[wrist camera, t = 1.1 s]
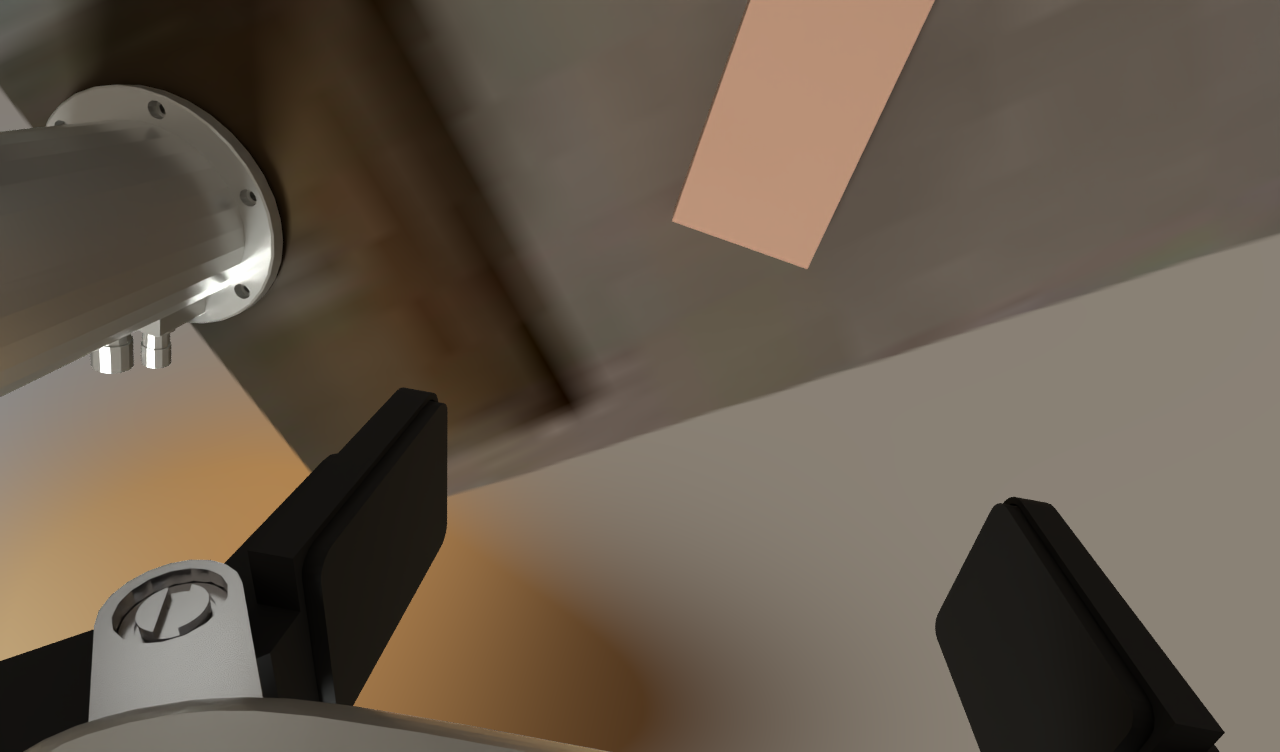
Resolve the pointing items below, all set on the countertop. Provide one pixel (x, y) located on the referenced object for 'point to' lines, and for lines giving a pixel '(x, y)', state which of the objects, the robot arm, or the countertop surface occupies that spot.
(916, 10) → the tile
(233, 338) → the countertop surface
